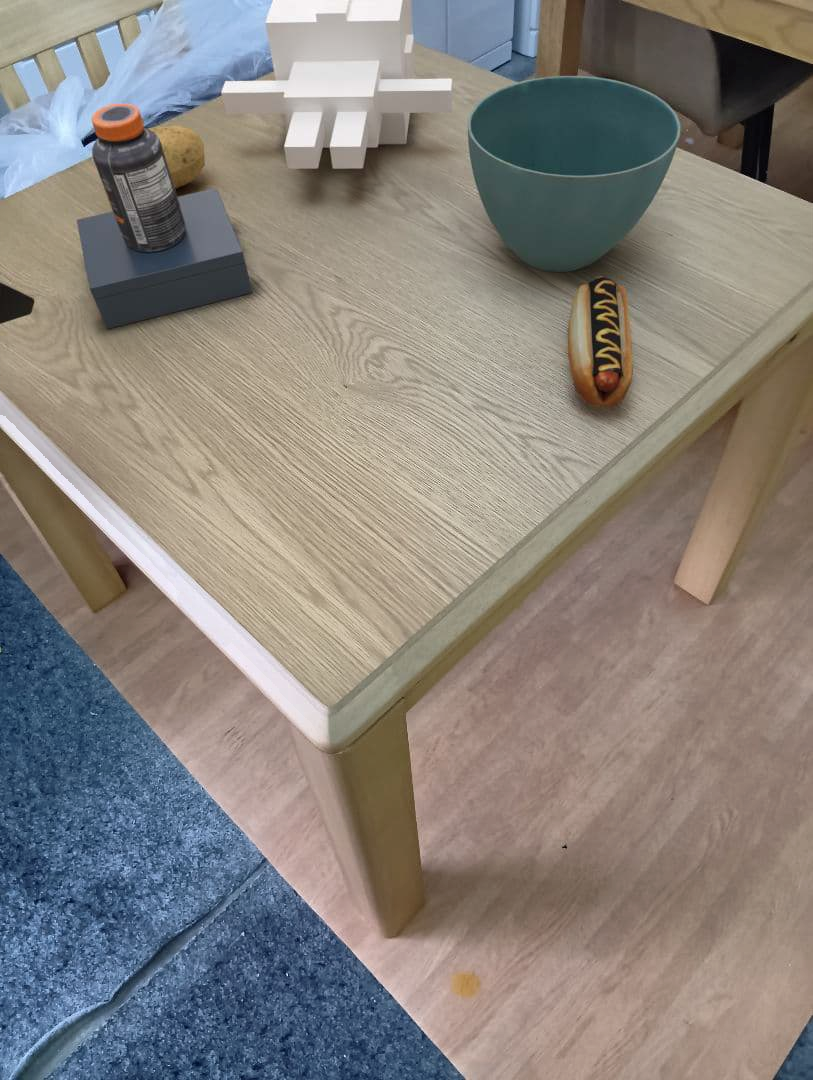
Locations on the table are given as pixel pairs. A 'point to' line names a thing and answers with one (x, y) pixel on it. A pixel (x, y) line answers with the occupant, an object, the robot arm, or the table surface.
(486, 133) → the teal bowl
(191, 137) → the potato
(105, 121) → the pill bottle
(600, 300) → the hot dog
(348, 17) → the white voxel figure
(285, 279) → the table surface
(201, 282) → the blue lidded box
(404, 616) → the table surface
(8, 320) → the robot arm
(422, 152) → the table surface
